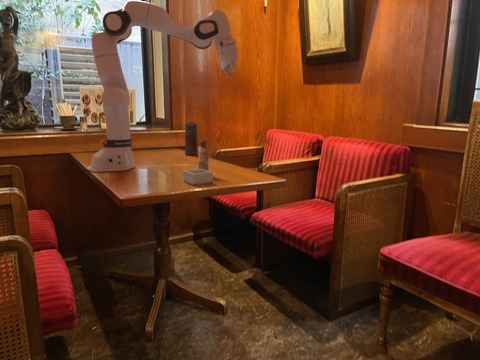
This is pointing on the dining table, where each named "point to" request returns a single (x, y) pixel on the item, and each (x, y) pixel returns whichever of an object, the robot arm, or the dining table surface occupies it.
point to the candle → (190, 138)
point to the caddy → (197, 176)
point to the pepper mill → (203, 155)
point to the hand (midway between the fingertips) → (231, 74)
